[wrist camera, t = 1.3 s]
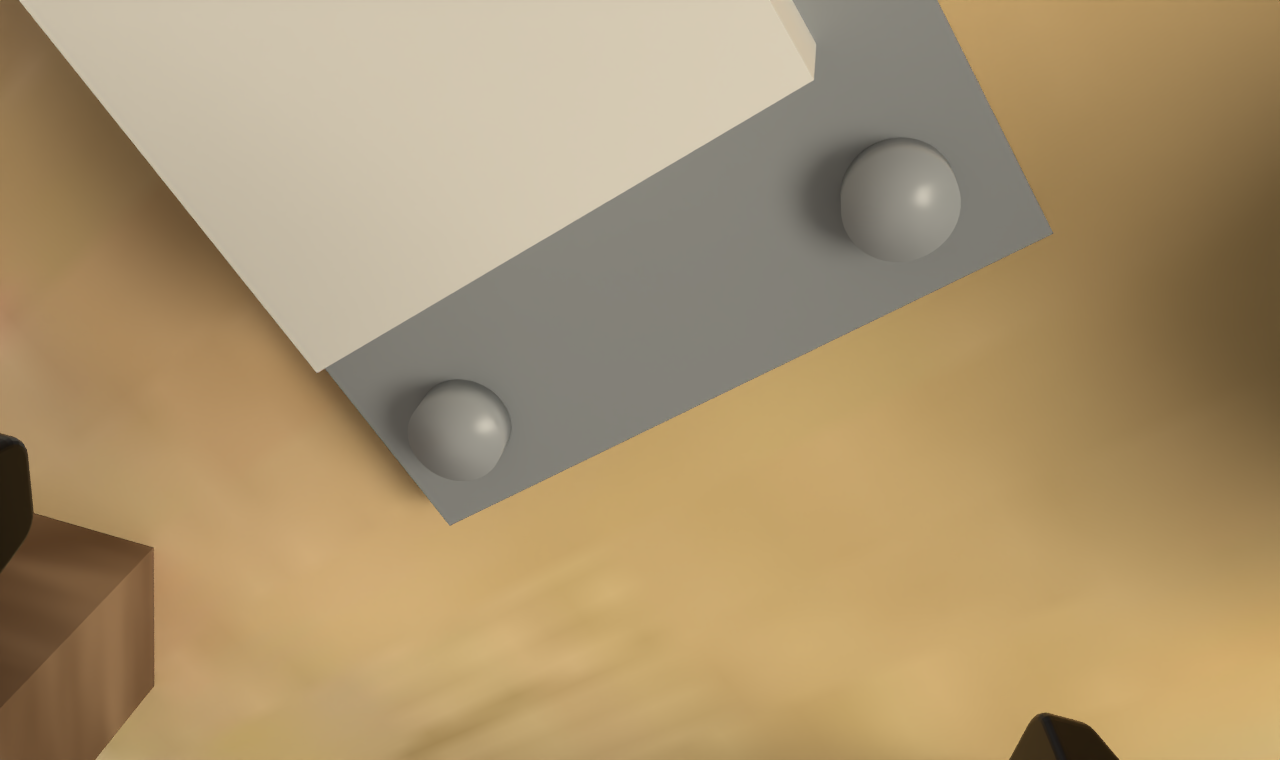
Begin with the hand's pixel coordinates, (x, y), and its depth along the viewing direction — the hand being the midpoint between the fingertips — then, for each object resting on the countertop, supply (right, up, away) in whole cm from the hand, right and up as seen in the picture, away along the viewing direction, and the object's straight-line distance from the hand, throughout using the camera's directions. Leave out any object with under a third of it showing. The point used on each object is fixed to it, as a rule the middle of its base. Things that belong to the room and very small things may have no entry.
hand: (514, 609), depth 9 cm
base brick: (-3, +10, +10) cm, 14 cm away
